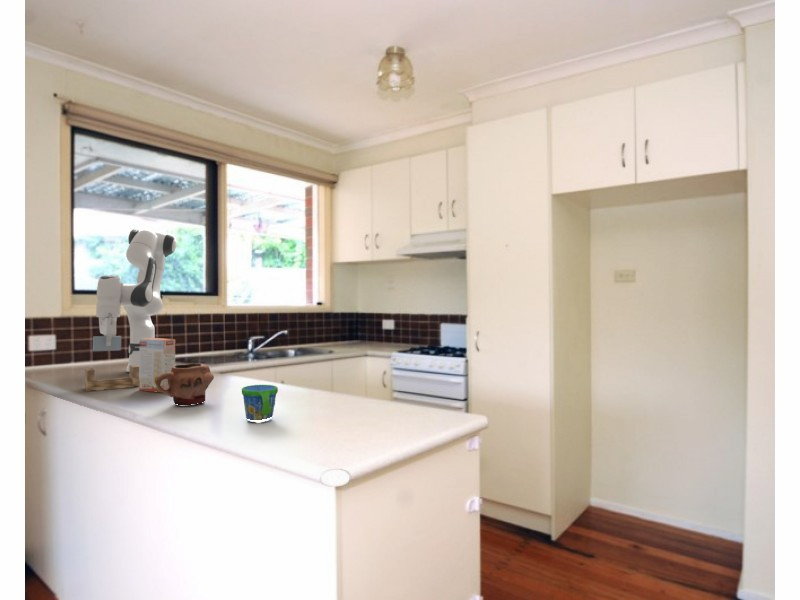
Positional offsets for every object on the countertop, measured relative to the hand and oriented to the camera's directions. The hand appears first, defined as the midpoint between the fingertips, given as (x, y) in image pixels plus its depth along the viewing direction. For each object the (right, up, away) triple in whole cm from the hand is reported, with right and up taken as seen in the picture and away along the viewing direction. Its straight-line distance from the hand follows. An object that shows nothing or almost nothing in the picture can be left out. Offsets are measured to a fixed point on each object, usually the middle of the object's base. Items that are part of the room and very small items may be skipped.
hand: (107, 345), depth 206 cm
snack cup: (+82, -18, -59) cm, 102 cm away
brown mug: (+50, -17, -38) cm, 65 cm away
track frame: (+6, -17, -7) cm, 19 cm away
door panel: (0, -2, 0) cm, 2 cm away
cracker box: (+27, -17, -13) cm, 35 cm away
